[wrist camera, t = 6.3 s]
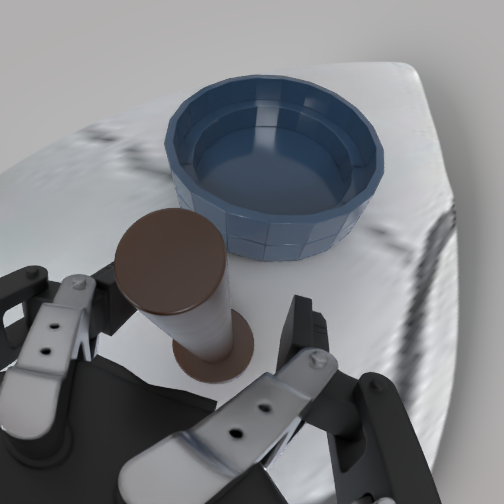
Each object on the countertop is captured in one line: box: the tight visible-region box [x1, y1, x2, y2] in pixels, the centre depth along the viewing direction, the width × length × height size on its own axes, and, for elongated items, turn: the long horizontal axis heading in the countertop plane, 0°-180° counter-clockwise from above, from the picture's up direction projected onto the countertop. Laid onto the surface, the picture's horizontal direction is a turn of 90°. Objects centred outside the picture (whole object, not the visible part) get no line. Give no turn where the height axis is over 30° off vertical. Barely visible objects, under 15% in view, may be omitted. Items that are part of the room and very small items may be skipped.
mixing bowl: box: [164, 75, 384, 261], centre depth 21 cm, size 15×15×6 cm
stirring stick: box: [114, 208, 254, 384], centre depth 12 cm, size 4×4×14 cm
